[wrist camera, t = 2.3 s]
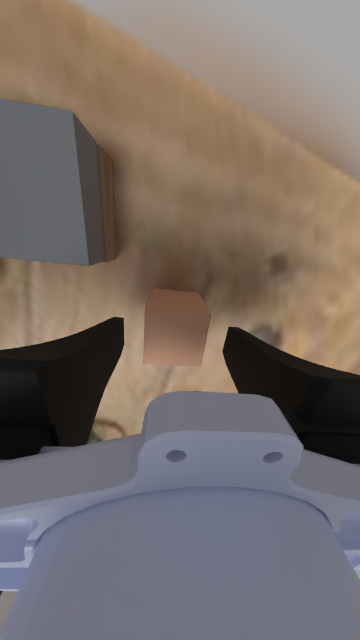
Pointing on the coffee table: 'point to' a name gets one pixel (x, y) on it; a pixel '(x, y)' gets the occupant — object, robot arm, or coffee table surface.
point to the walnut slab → (107, 203)
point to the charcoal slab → (48, 186)
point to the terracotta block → (175, 328)
